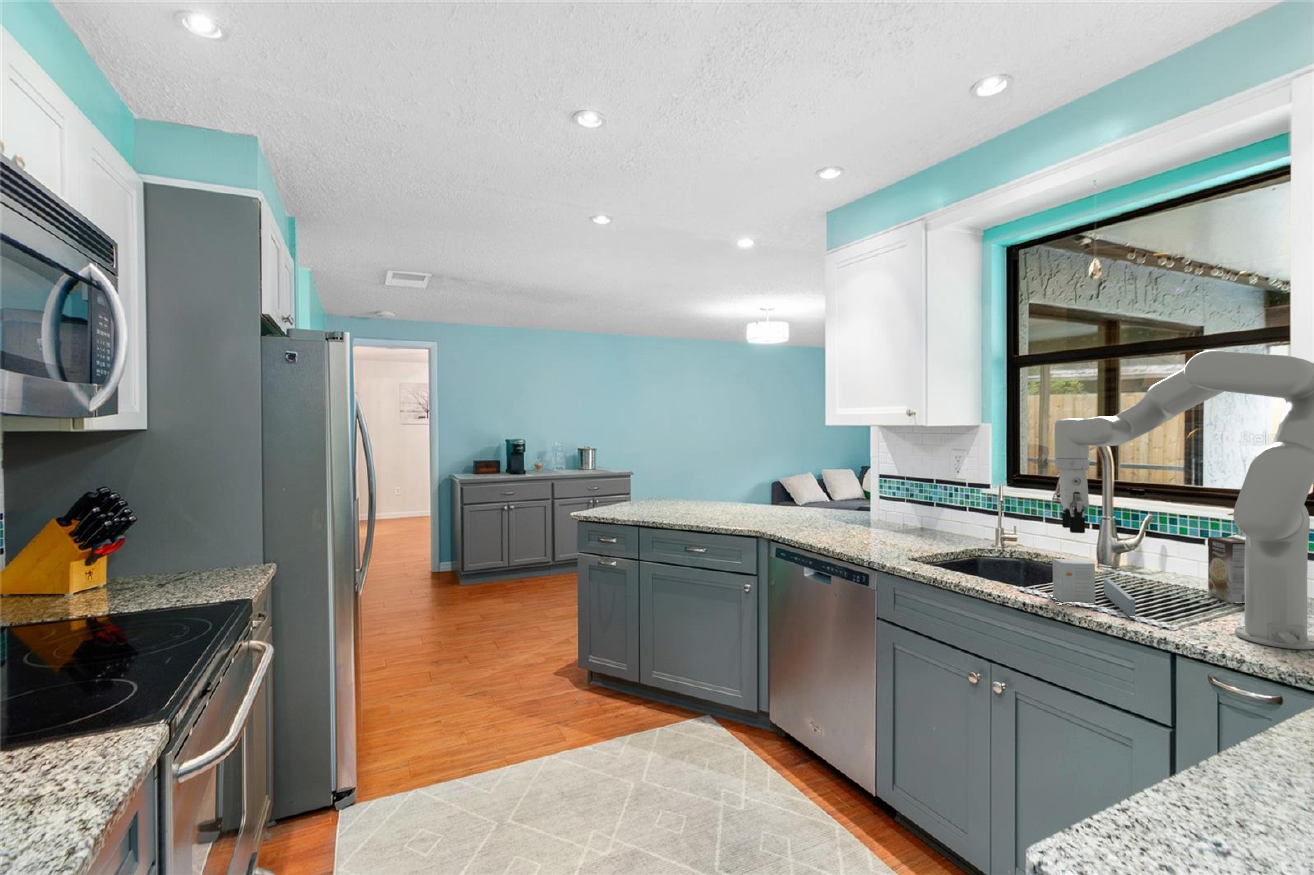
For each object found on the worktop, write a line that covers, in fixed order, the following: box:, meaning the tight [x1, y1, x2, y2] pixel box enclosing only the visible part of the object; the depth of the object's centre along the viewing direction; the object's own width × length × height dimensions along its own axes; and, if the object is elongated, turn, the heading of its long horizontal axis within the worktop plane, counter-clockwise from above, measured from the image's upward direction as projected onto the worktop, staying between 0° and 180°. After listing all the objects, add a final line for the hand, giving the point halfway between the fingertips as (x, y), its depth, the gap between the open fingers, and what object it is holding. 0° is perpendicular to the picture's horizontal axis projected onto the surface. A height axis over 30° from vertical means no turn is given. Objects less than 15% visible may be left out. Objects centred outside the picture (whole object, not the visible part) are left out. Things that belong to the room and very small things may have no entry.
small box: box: [1052, 558, 1096, 604], centre depth 164 cm, size 8×6×10 cm
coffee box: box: [1207, 536, 1245, 604], centre depth 165 cm, size 9×6×16 cm
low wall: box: [1103, 577, 1136, 617], centre depth 160 cm, size 24×1×4 cm, turn 156°
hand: (1073, 530), depth 164 cm, fingers open, 9 cm apart
